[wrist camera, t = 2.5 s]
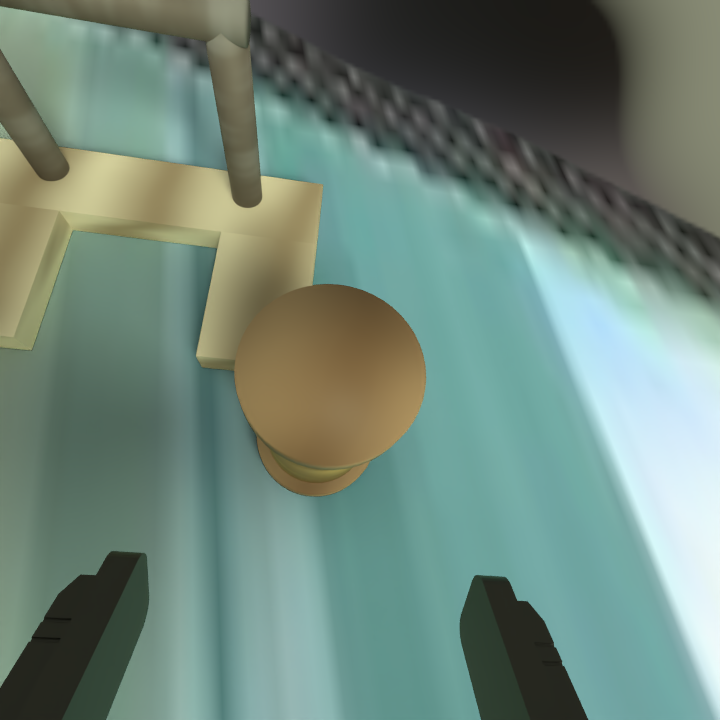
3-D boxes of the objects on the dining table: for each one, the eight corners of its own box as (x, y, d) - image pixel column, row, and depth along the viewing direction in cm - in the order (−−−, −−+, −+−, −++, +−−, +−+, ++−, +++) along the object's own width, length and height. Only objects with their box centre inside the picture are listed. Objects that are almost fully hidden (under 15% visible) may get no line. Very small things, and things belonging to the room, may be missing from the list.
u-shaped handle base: (-82, 339, 22) (-449, 142, 11) (-2, 158, 26) (-215, -118, 15) (302, 377, 24) (311, 241, 13) (321, 203, 28) (340, -13, 17)
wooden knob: (250, 492, 22) (219, 456, 12) (266, 377, 24) (249, 274, 14) (369, 500, 22) (425, 472, 13) (375, 388, 24) (426, 295, 15)
